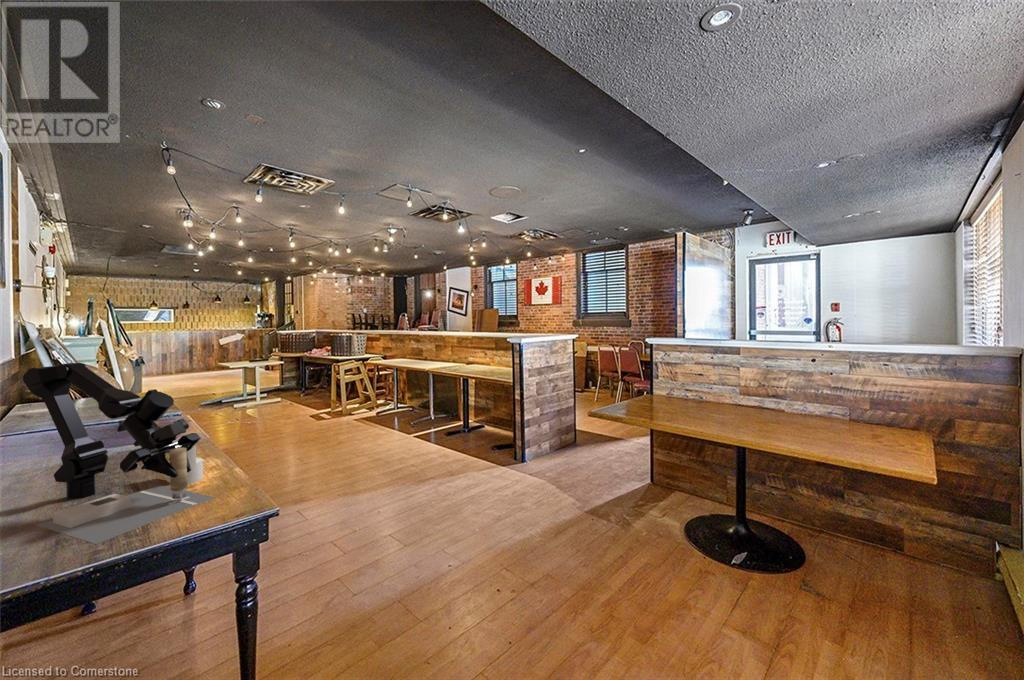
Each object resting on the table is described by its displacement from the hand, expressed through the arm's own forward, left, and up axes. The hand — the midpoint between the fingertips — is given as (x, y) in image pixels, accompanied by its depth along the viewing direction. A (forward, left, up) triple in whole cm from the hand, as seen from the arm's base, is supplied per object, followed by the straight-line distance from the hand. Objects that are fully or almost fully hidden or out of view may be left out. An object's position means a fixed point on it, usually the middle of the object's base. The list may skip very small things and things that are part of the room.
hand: (183, 473), depth 112 cm
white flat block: (-12, -13, -7) cm, 20 cm away
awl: (-1, 0, -6) cm, 6 cm away
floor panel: (-6, -8, -9) cm, 14 cm away
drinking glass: (-18, +12, -9) cm, 23 cm away
